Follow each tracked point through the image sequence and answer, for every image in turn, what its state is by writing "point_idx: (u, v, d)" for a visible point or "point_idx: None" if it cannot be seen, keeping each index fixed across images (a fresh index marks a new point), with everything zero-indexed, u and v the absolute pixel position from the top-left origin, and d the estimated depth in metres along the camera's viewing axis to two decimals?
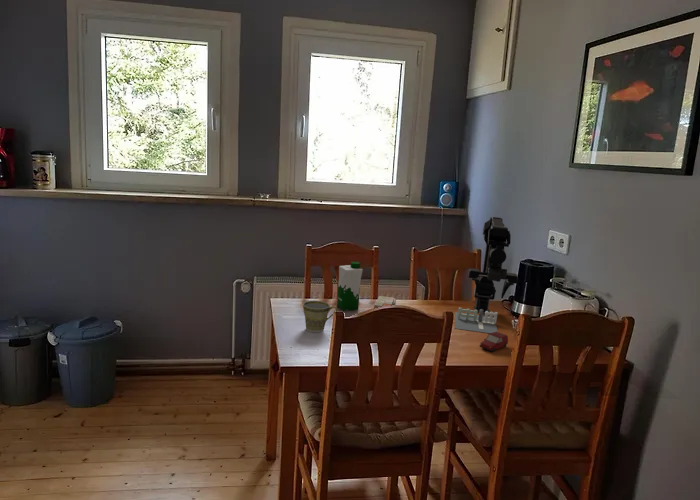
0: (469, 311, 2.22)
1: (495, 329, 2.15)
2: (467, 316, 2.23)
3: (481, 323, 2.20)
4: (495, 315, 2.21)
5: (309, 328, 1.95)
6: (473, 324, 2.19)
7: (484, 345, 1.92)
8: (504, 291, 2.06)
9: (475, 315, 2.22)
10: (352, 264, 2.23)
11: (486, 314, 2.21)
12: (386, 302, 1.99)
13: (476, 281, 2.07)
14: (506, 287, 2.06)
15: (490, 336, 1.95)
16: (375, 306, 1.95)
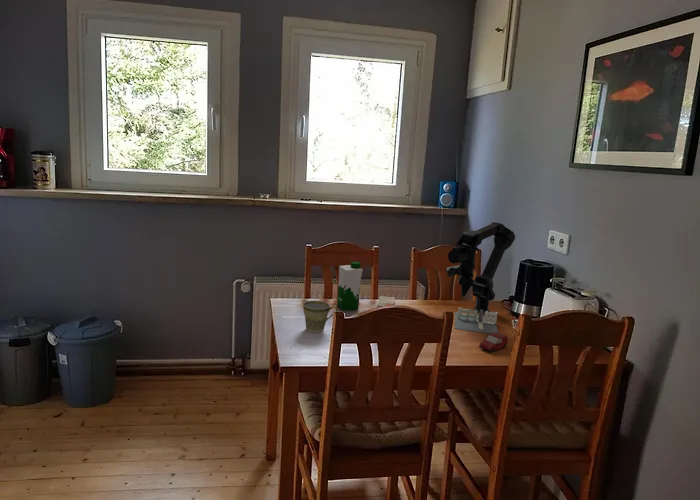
0: (469, 311, 2.22)
1: (495, 329, 2.15)
2: (467, 316, 2.23)
3: (481, 323, 2.20)
4: (495, 315, 2.21)
5: (309, 328, 1.95)
6: (473, 324, 2.19)
7: (483, 345, 1.91)
8: None
9: (475, 315, 2.22)
10: (352, 264, 2.23)
11: (486, 314, 2.21)
12: (388, 302, 1.99)
13: None
14: (461, 285, 2.26)
15: (489, 336, 1.94)
16: (378, 306, 1.95)
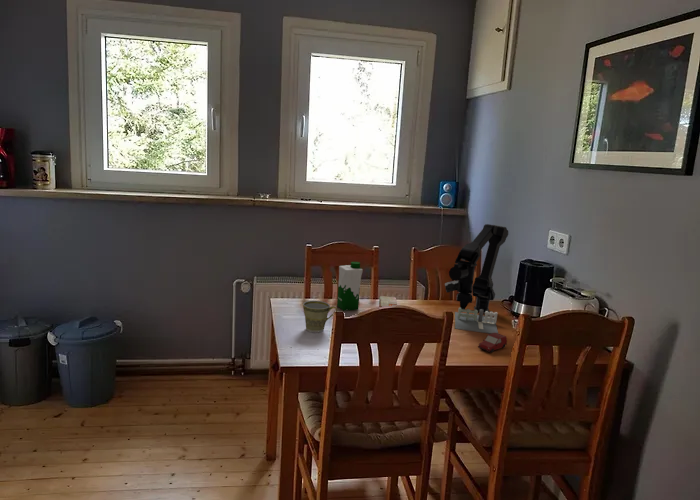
0: (469, 311, 2.22)
1: (495, 329, 2.15)
2: (467, 316, 2.23)
3: (481, 323, 2.20)
4: (495, 315, 2.21)
5: (309, 328, 1.95)
6: (473, 324, 2.19)
7: (482, 346, 1.91)
8: (460, 304, 2.24)
9: (475, 315, 2.22)
10: (352, 264, 2.23)
11: (486, 314, 2.21)
12: (391, 302, 1.99)
13: None
14: None
15: (489, 337, 1.94)
16: None
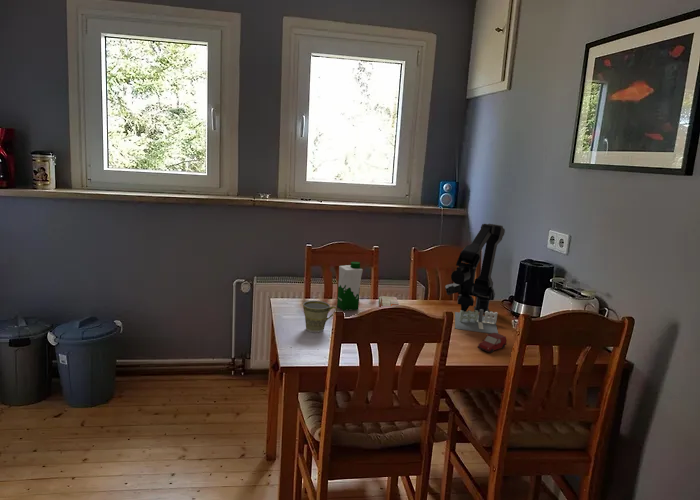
0: (471, 313, 2.21)
1: (495, 329, 2.15)
2: (469, 318, 2.21)
3: (481, 323, 2.20)
4: (495, 315, 2.21)
5: (309, 328, 1.95)
6: (473, 324, 2.19)
7: (482, 346, 1.91)
8: (461, 307, 2.21)
9: (476, 316, 2.21)
10: (352, 264, 2.23)
11: (486, 314, 2.21)
12: (392, 302, 1.99)
13: None
14: None
15: (488, 337, 1.94)
16: None
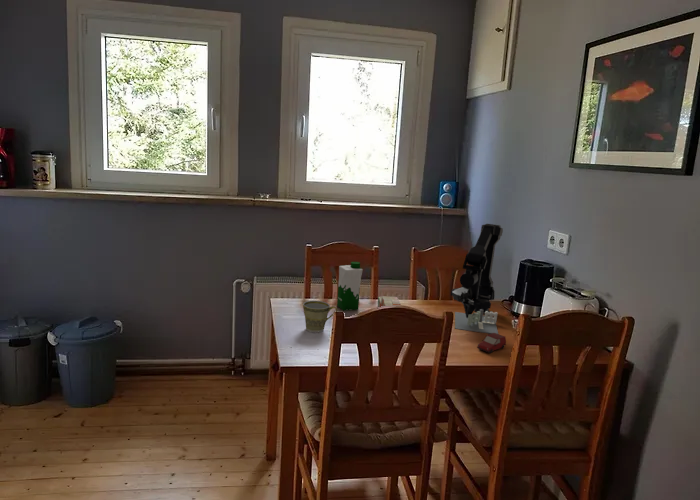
0: (476, 315, 2.18)
1: (495, 329, 2.15)
2: (475, 320, 2.18)
3: (481, 323, 2.20)
4: (495, 315, 2.21)
5: (309, 328, 1.95)
6: (473, 324, 2.19)
7: (481, 346, 1.90)
8: (467, 311, 2.16)
9: (479, 317, 2.20)
10: (352, 264, 2.23)
11: (486, 314, 2.21)
12: (394, 302, 1.99)
13: (462, 303, 2.17)
14: (468, 307, 2.15)
15: (488, 337, 1.93)
16: None
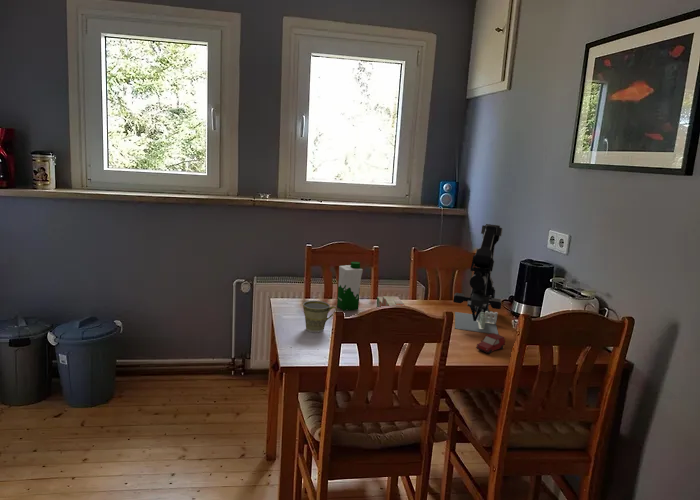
0: None
1: (495, 329, 2.15)
2: None
3: None
4: (495, 315, 2.21)
5: (309, 328, 1.95)
6: (473, 324, 2.19)
7: (480, 347, 1.90)
8: (477, 314, 2.13)
9: None
10: (352, 264, 2.23)
11: (486, 314, 2.21)
12: (397, 302, 2.00)
13: (472, 307, 2.12)
14: (478, 310, 2.13)
15: (487, 338, 1.93)
16: None
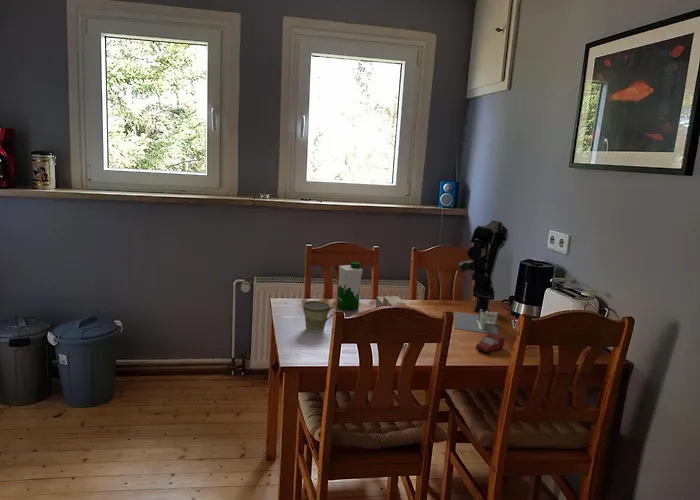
0: None
1: (495, 329, 2.15)
2: None
3: None
4: (495, 315, 2.21)
5: (309, 328, 1.95)
6: (473, 324, 2.19)
7: (480, 347, 1.89)
8: (474, 284, 2.25)
9: None
10: (352, 264, 2.23)
11: (486, 314, 2.21)
12: (399, 302, 2.00)
13: None
14: (474, 280, 2.24)
15: (486, 338, 1.93)
16: None
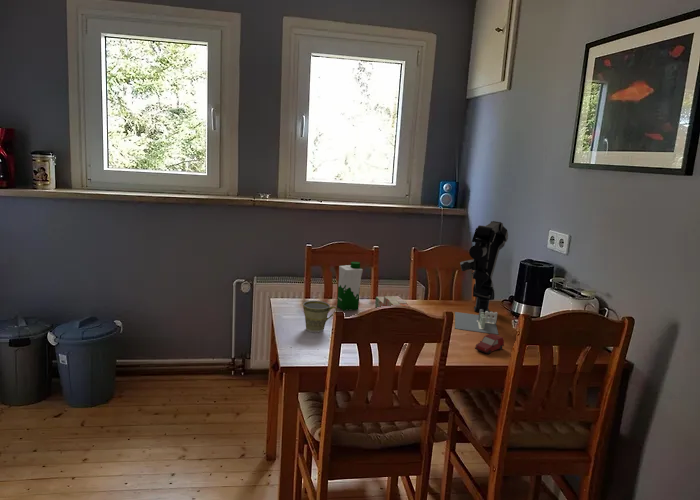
0: None
1: (495, 329, 2.15)
2: None
3: None
4: (495, 315, 2.21)
5: (309, 328, 1.95)
6: (473, 324, 2.19)
7: (479, 347, 1.89)
8: (475, 284, 2.25)
9: None
10: (352, 264, 2.23)
11: (486, 314, 2.21)
12: (400, 302, 2.01)
13: (473, 275, 2.26)
14: (475, 280, 2.24)
15: (486, 338, 1.92)
16: None
